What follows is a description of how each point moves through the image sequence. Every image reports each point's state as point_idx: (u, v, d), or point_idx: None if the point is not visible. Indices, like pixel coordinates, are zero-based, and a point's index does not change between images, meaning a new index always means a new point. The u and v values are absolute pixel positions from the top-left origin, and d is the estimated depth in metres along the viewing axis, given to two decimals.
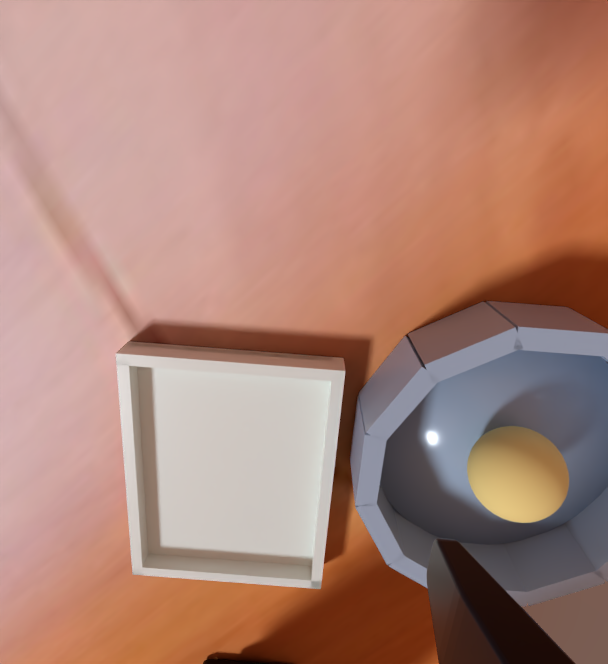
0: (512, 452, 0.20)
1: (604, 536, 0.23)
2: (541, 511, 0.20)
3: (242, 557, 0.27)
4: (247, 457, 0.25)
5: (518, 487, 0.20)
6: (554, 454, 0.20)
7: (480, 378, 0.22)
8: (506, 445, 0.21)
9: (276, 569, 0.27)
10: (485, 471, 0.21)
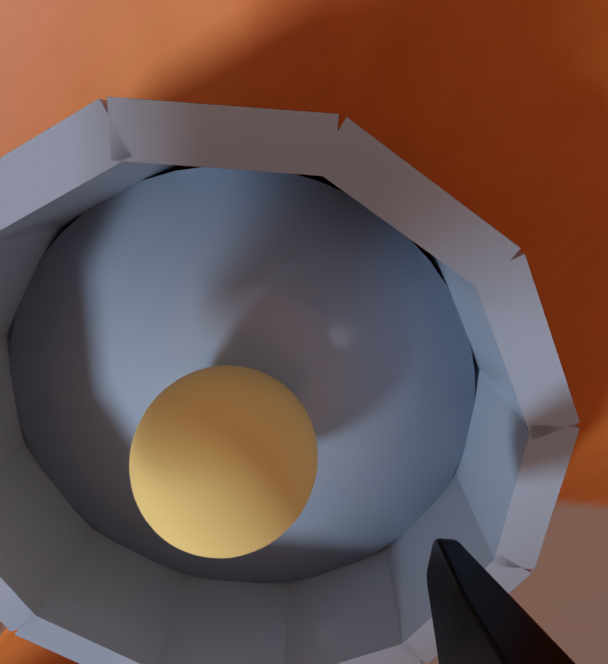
0: (173, 410, 0.09)
1: (426, 576, 0.12)
2: (223, 537, 0.09)
3: None
4: None
5: (166, 484, 0.09)
6: (266, 413, 0.10)
7: (178, 276, 0.12)
8: (173, 397, 0.10)
9: None
10: (132, 451, 0.10)
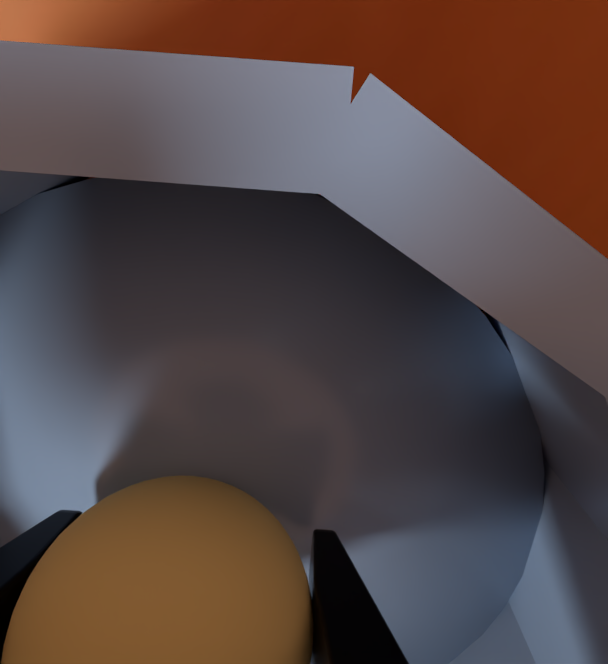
0: (65, 590, 0.06)
1: None
2: None
3: None
4: None
5: None
6: (224, 595, 0.06)
7: (103, 337, 0.08)
8: (70, 558, 0.06)
9: None
10: (4, 646, 0.06)
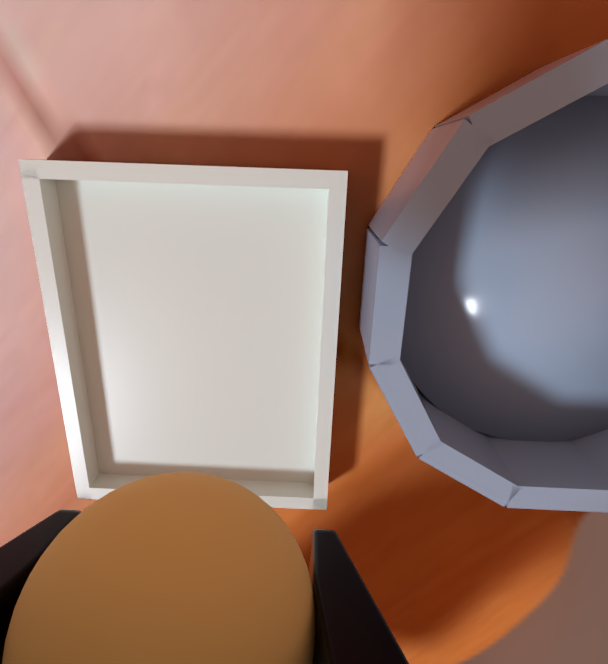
0: (67, 586, 0.05)
1: None
2: None
3: (222, 473, 0.21)
4: (219, 327, 0.18)
5: None
6: (227, 590, 0.06)
7: (541, 184, 0.16)
8: (72, 554, 0.06)
9: (267, 487, 0.20)
10: (6, 643, 0.06)
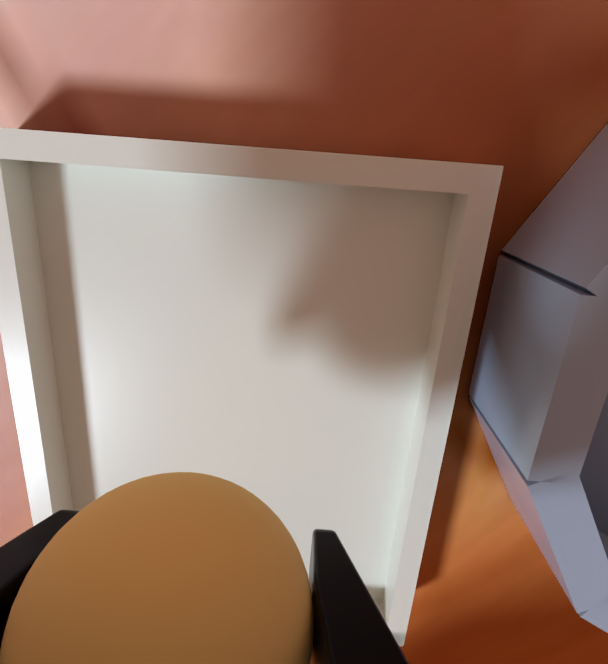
0: (64, 586, 0.05)
1: None
2: None
3: None
4: (266, 390, 0.12)
5: None
6: (223, 591, 0.06)
7: None
8: (69, 554, 0.06)
9: None
10: (2, 643, 0.06)
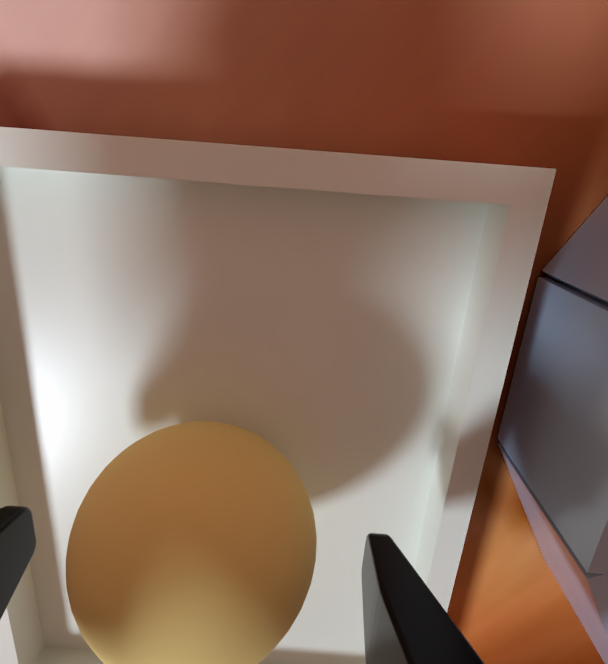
0: (122, 497, 0.07)
1: None
2: None
3: None
4: None
5: (109, 608, 0.06)
6: (248, 499, 0.07)
7: None
8: (122, 475, 0.07)
9: None
10: (68, 549, 0.07)
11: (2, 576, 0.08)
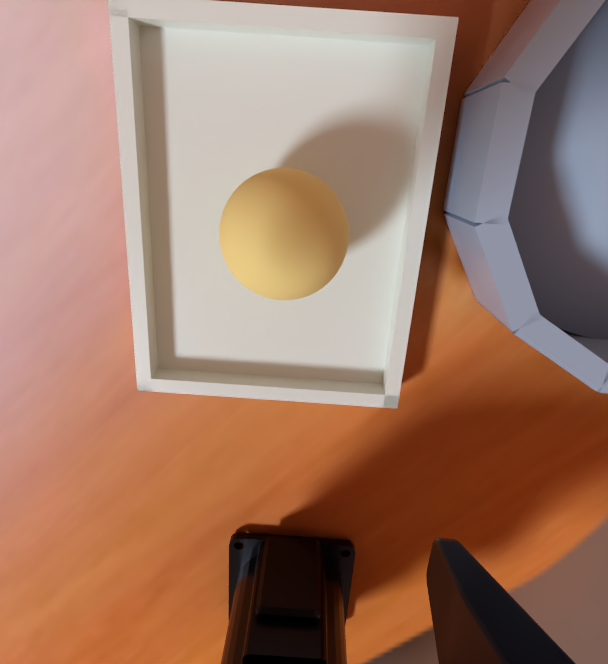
0: (261, 182, 0.14)
1: None
2: (305, 260, 0.14)
3: (287, 371, 0.20)
4: None
5: (267, 223, 0.13)
6: (321, 184, 0.14)
7: None
8: (255, 179, 0.14)
9: (335, 384, 0.19)
10: (229, 219, 0.14)
11: None
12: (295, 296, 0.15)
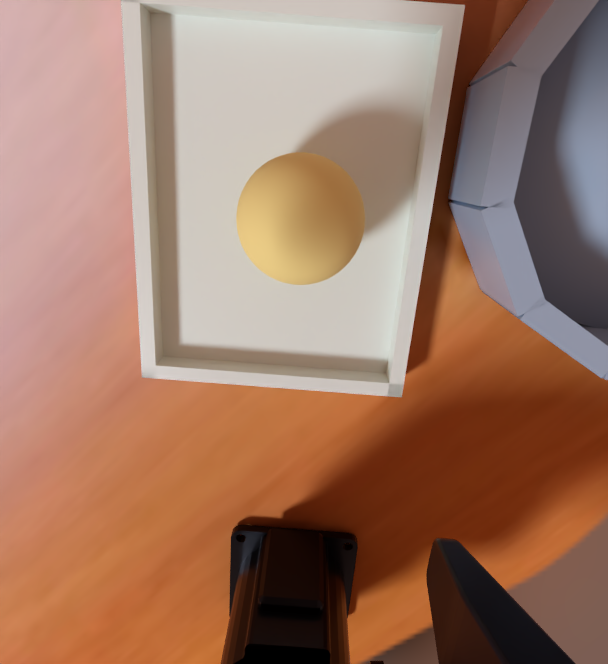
0: (285, 165, 0.14)
1: None
2: (332, 242, 0.14)
3: (291, 360, 0.20)
4: None
5: (296, 205, 0.13)
6: (341, 169, 0.15)
7: None
8: (277, 162, 0.14)
9: (339, 373, 0.19)
10: (253, 202, 0.14)
11: None
12: (316, 279, 0.15)
